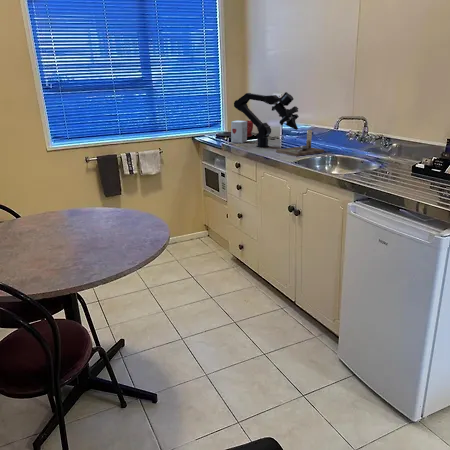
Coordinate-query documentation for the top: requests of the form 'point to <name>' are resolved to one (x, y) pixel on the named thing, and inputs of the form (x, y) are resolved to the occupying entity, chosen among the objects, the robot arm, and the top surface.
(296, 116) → the robot arm
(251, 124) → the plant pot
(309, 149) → the brown flat board
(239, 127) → the supplement box
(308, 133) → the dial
